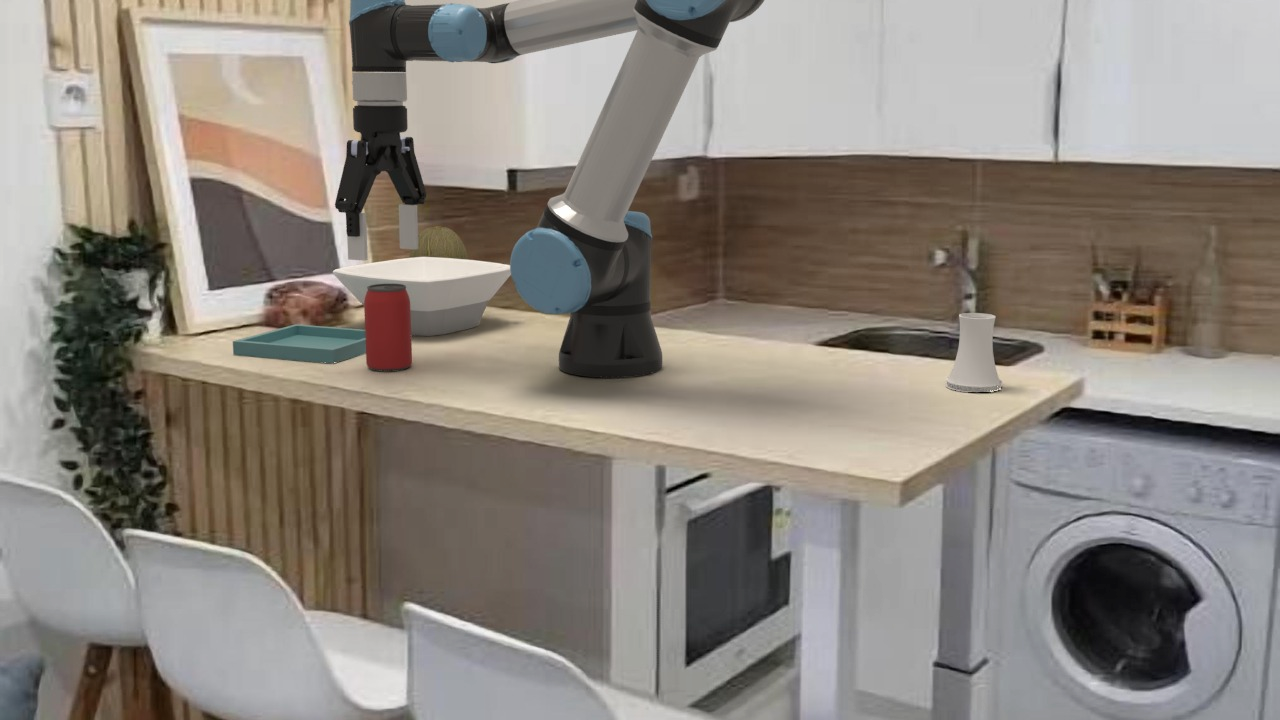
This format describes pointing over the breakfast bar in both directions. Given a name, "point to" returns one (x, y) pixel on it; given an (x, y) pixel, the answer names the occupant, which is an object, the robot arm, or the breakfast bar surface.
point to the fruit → (439, 244)
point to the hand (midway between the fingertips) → (384, 254)
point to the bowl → (433, 289)
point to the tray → (304, 344)
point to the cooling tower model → (975, 356)
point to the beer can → (388, 327)
